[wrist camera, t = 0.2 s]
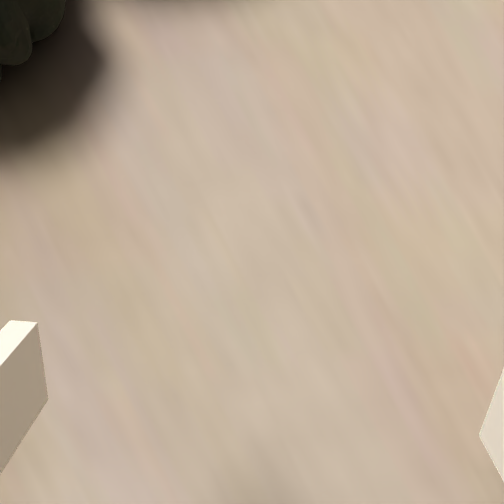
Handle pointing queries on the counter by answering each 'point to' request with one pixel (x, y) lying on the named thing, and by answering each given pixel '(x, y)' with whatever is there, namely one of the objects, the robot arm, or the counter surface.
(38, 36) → the squash
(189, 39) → the counter surface
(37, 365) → the robot arm
